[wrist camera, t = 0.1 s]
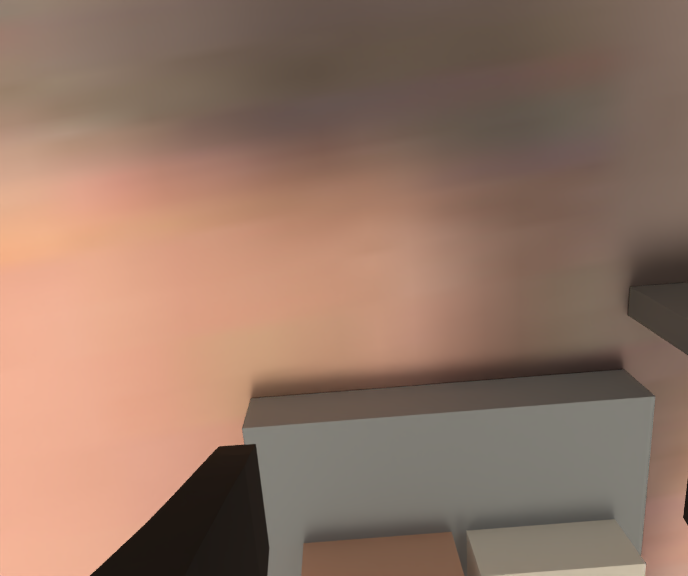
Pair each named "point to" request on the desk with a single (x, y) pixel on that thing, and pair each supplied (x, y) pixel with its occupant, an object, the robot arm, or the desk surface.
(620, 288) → the desk surface
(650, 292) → the box
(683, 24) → the desk surface
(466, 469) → the slate plate
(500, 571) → the beige square tray
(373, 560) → the terracotta tile
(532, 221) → the desk surface
